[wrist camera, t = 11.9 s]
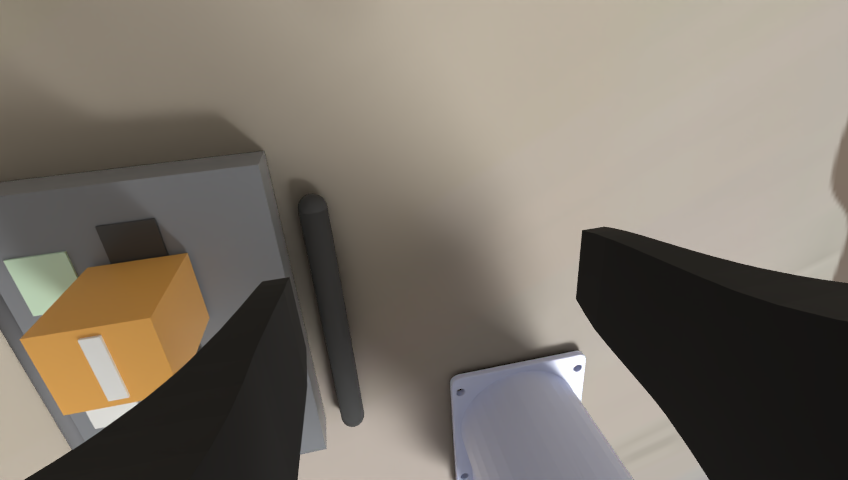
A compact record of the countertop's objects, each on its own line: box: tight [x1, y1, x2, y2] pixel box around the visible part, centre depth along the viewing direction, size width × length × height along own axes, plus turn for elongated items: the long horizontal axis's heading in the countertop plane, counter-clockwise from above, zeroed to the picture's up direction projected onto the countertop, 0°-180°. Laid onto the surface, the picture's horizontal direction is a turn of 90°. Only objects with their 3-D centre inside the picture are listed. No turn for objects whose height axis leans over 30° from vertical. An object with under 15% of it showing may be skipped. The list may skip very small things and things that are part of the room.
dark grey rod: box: [298, 194, 364, 427], centre depth 22 cm, size 13×1×1 cm, turn 4°
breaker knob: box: [20, 253, 210, 415], centre depth 16 cm, size 3×4×4 cm
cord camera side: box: [0, 294, 85, 450], centre depth 20 cm, size 13×1×1 cm, turn 4°
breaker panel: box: [0, 151, 326, 454], centre depth 20 cm, size 15×10×2 cm, turn 4°
